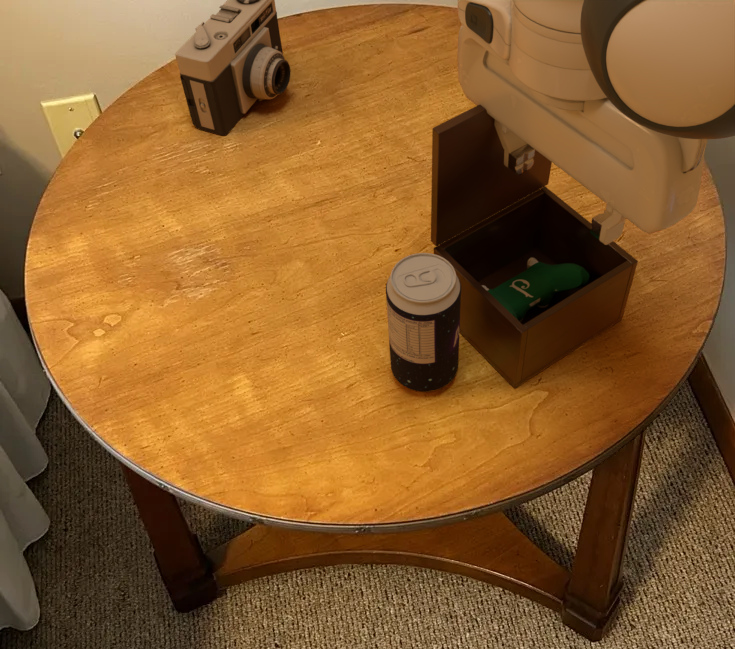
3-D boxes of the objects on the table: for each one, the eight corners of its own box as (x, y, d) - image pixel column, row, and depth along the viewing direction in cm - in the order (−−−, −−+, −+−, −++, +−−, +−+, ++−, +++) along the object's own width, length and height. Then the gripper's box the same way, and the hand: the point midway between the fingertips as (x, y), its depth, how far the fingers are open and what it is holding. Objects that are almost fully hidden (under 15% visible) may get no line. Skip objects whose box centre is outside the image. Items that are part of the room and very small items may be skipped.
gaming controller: (594, 303, 75) (548, 275, 79) (591, 267, 72) (544, 240, 77) (509, 353, 72) (467, 321, 77) (504, 318, 70) (461, 287, 74)
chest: (622, 319, 76) (638, 260, 70) (514, 388, 72) (521, 333, 66) (536, 245, 82) (544, 185, 76) (433, 305, 78) (433, 247, 72)
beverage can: (464, 391, 72) (469, 299, 63) (397, 403, 72) (392, 311, 62) (449, 338, 76) (452, 243, 66) (385, 349, 75) (379, 255, 66)
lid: (567, 68, 66) (560, 63, 66) (438, 133, 62) (432, 127, 62) (548, 184, 75) (542, 179, 76) (436, 246, 72) (430, 241, 72)
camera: (254, 146, 93) (238, 67, 86) (190, 128, 96) (169, 49, 88) (315, 72, 101) (305, -7, 93) (254, 57, 103) (239, -21, 96)
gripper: (752, 94, 49) (698, 261, 60) (513, -45, 60) (505, 117, 71) (671, 140, 47) (631, 305, 58) (441, -12, 58) (443, 149, 69)
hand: (560, 200), depth 64 cm, fingers open, 8 cm apart
